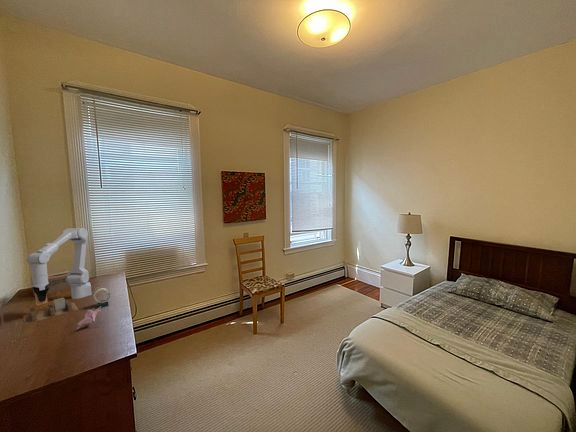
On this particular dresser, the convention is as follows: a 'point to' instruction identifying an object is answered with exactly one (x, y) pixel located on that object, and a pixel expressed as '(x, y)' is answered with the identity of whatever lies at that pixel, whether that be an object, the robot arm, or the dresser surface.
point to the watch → (104, 302)
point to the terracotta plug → (38, 300)
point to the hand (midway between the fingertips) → (42, 300)
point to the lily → (89, 317)
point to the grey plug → (59, 304)
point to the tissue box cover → (57, 282)
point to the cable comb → (48, 312)
